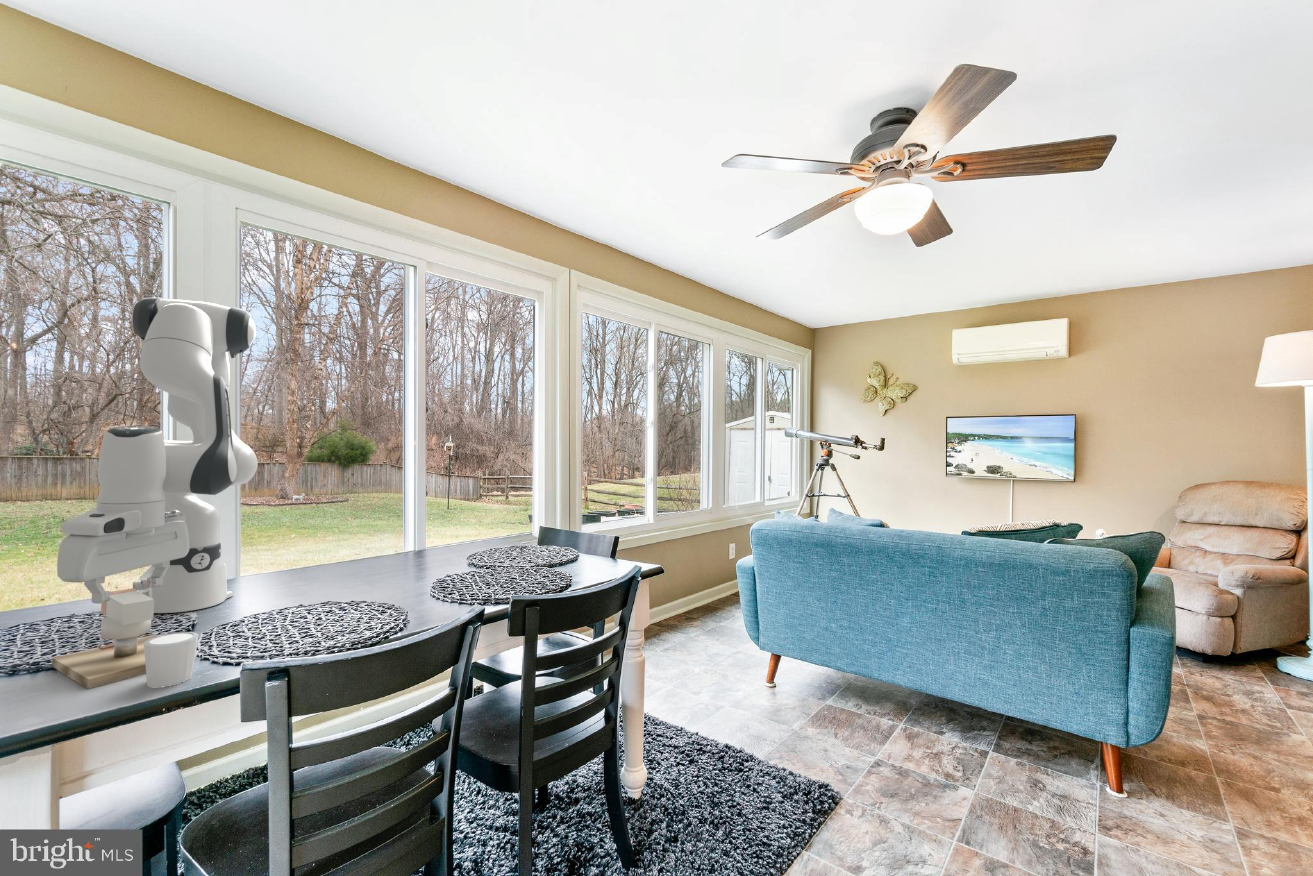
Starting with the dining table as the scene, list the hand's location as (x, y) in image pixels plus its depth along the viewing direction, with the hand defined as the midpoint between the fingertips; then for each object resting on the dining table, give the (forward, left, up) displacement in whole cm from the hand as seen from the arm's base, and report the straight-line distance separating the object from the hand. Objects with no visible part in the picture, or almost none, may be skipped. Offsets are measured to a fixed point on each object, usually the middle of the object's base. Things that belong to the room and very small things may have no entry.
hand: (129, 594), depth 98 cm
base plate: (0, 0, -12) cm, 12 cm away
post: (0, 0, -11) cm, 11 cm away
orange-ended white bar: (0, 0, -7) cm, 7 cm away
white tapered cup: (+15, +1, -12) cm, 19 cm away
